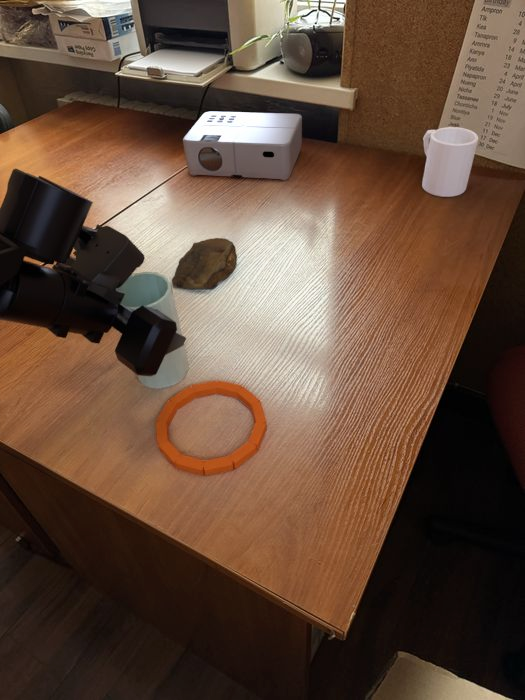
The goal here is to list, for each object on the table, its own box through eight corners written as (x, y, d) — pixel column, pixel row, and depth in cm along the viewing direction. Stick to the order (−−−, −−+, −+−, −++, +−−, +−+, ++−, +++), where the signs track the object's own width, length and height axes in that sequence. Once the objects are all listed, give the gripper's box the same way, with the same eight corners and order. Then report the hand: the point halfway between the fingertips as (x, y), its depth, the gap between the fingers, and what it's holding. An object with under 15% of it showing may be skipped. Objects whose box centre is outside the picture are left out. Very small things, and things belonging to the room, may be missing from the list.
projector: (209, 145, 117) (204, 110, 111) (302, 149, 113) (303, 112, 107) (186, 177, 105) (179, 140, 100) (289, 183, 101) (288, 144, 96)
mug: (434, 166, 103) (444, 117, 96) (474, 190, 95) (488, 138, 88) (401, 175, 101) (409, 125, 94) (439, 201, 93) (450, 148, 86)
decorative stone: (220, 296, 76) (218, 277, 73) (164, 287, 78) (159, 269, 76) (242, 258, 83) (240, 239, 81) (189, 250, 85) (186, 232, 83)
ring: (161, 485, 53) (159, 479, 52) (155, 398, 62) (153, 392, 61) (276, 461, 55) (275, 455, 54) (253, 379, 63) (253, 373, 62)
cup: (137, 393, 63) (109, 313, 54) (135, 356, 67) (110, 277, 58) (191, 383, 63) (173, 302, 54) (185, 347, 68) (168, 267, 59)
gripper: (139, 255, 42) (242, 295, 55) (30, 191, 52) (140, 238, 65) (87, 372, 44) (199, 384, 57) (-10, 289, 53) (105, 315, 66)
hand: (159, 324), depth 61 cm, fingers open, 9 cm apart
